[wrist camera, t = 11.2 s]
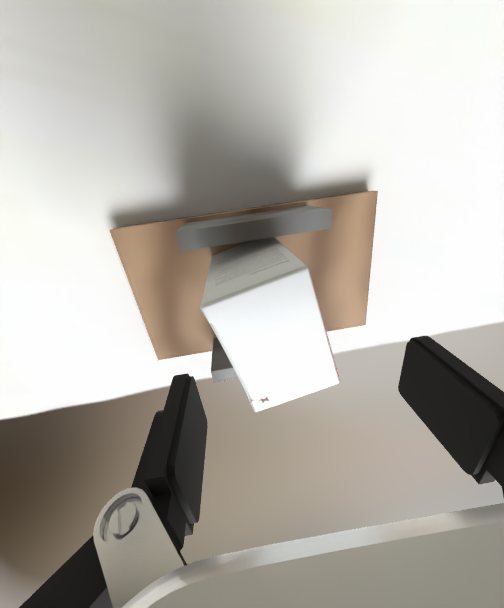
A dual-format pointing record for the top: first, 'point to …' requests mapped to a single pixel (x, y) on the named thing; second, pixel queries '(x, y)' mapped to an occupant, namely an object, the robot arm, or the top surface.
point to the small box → (269, 322)
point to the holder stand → (235, 231)
